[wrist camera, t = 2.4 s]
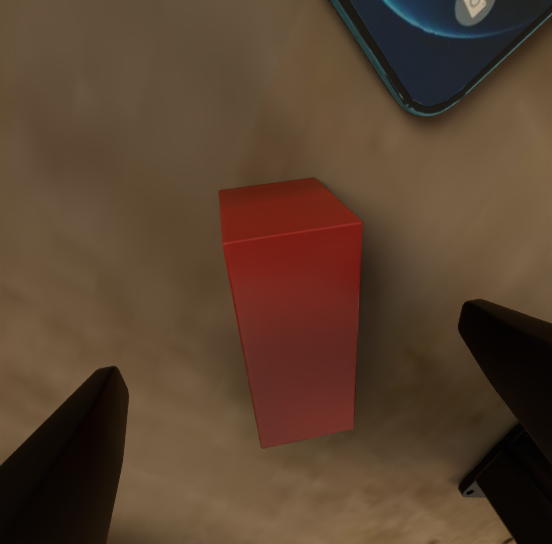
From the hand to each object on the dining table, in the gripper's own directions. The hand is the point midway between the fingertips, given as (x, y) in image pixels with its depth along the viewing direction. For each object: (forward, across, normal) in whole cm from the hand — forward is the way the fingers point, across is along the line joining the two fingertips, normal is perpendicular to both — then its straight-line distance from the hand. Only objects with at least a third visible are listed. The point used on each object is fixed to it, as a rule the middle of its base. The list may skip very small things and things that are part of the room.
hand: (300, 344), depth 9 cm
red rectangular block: (+3, 0, 0) cm, 3 cm away
